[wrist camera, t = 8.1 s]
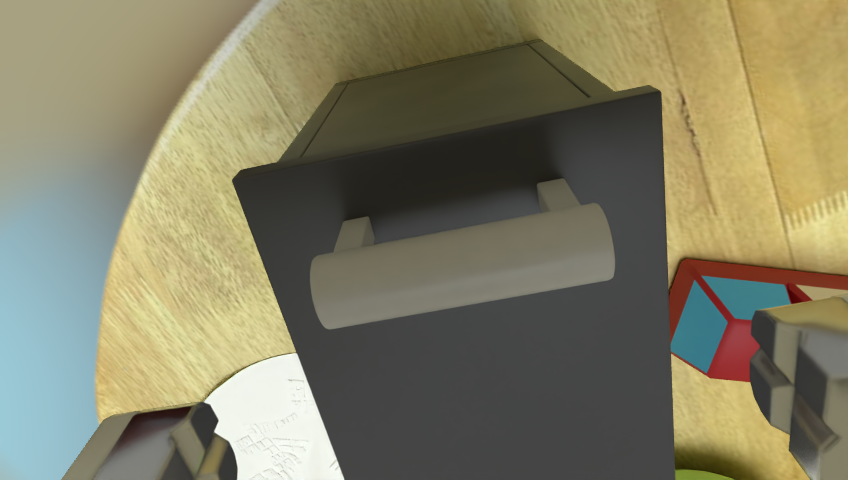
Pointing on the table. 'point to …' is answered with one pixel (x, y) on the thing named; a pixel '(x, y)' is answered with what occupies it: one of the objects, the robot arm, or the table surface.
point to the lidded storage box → (443, 96)
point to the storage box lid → (482, 294)
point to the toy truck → (733, 310)
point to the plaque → (274, 423)
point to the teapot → (698, 475)
